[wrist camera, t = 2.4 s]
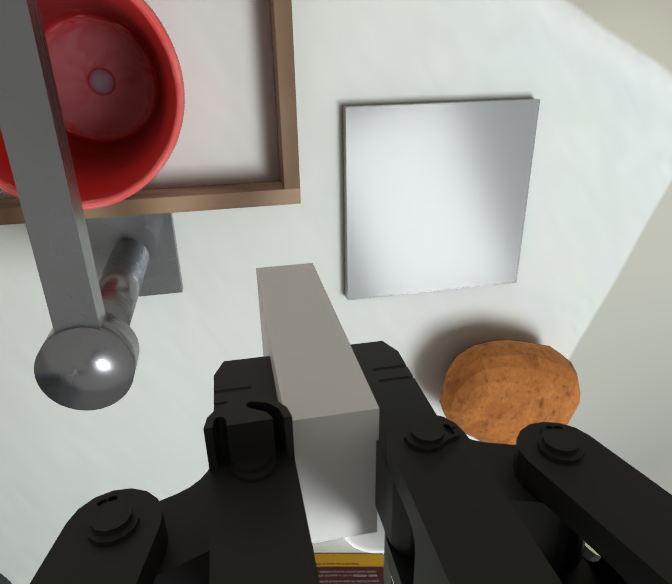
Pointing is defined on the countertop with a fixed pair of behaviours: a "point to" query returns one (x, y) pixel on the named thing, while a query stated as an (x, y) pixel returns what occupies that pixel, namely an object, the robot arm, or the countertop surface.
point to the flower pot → (111, 95)
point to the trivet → (435, 194)
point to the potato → (508, 389)
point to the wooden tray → (230, 193)
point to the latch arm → (57, 225)
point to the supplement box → (350, 568)
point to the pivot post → (134, 259)
